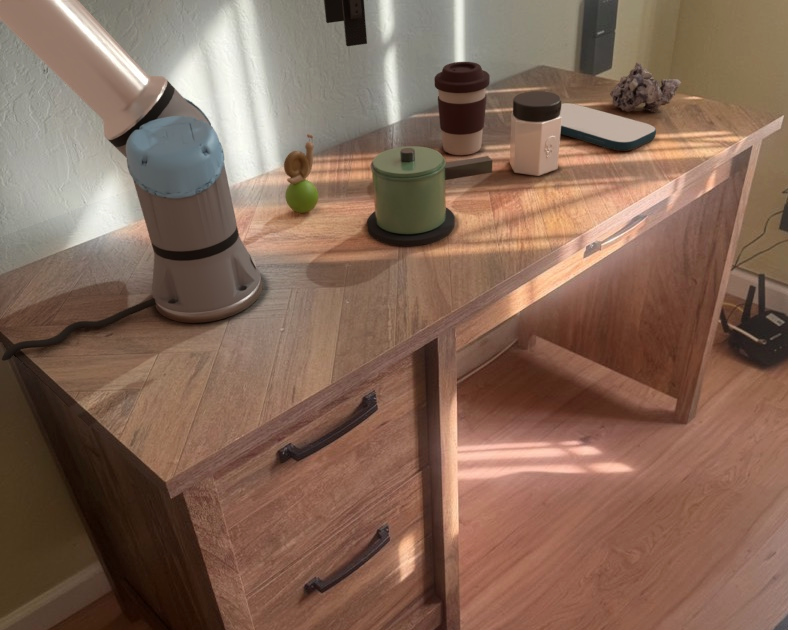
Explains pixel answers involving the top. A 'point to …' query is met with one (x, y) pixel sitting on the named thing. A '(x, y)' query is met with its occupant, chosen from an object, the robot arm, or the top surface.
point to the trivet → (411, 238)
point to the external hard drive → (604, 128)
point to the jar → (535, 132)
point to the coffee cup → (462, 106)
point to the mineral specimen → (643, 90)
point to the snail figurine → (300, 180)
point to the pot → (416, 187)
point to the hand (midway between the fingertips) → (345, 32)
